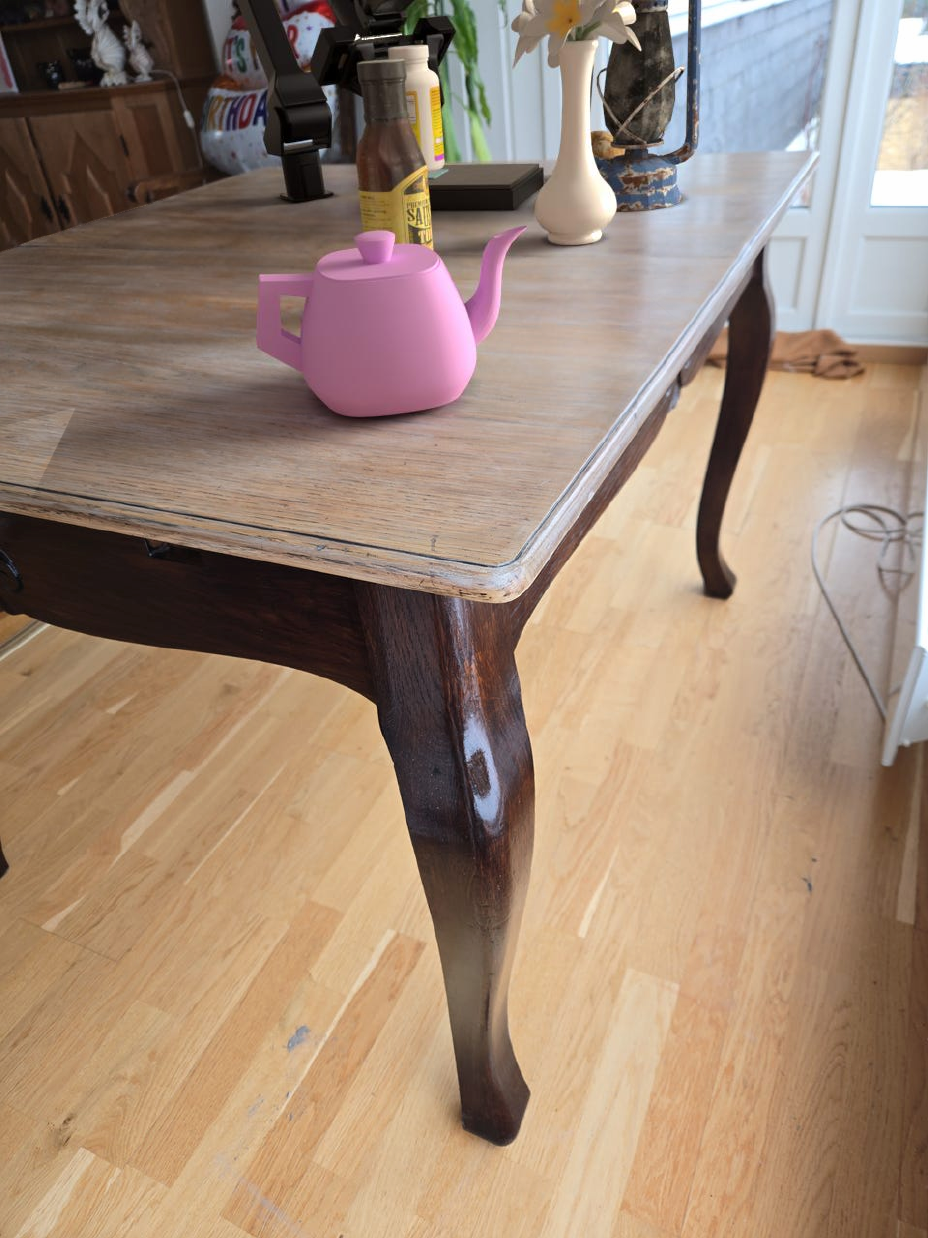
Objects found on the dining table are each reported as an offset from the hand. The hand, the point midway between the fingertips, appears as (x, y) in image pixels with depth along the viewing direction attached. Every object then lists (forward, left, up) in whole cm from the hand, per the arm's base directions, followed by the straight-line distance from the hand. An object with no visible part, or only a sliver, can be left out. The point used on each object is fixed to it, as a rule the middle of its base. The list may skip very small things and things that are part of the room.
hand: (420, 109), depth 102 cm
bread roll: (-7, +32, -13) cm, 35 cm away
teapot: (+47, -29, -13) cm, 57 cm away
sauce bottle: (+29, -19, -13) cm, 37 cm away
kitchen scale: (-10, +13, -13) cm, 21 cm away
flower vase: (+19, +8, -13) cm, 24 cm away
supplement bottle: (-1, 0, -7) cm, 7 cm away
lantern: (+9, +26, -13) cm, 30 cm away
